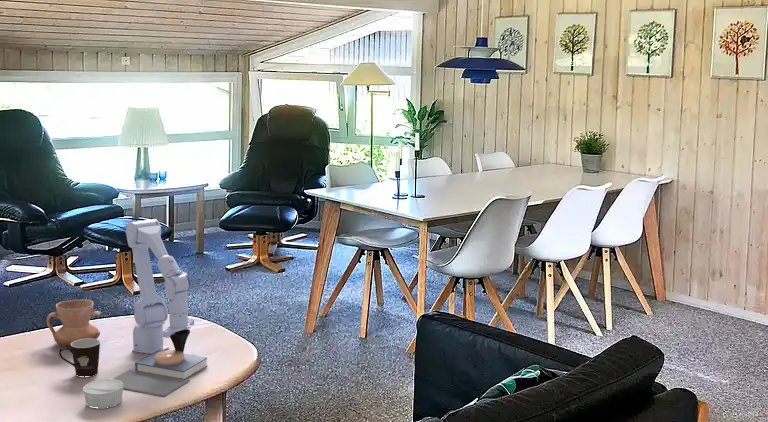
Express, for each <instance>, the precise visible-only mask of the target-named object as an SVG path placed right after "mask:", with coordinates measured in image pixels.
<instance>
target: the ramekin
mask: <svg viewBox="0 0 768 422" xmlns="http://www.w3.org/2000/svg"><path fill="white" fill-rule="evenodd" d="M123 388H124V384H123V382H122V381H120V380H116V379H113V378H101V379H97V380H92V381H90V382H87V383H86V384H85V385H83V387H82V393H83V396H84V400H85V403H87V404H88V405H89V406H92V407H98V408H107V407H112V406H115V405H117V404H118V405H119V404H121V402H122V400H123V393H124V389H123ZM87 404H86V405H87ZM88 405H87V406H88ZM118 405H117V406H118ZM89 406H88V407H89ZM115 407H116V406H115ZM112 408H113V407H112Z"/></svg>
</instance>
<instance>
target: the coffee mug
mask: <svg viewBox="0 0 768 422" xmlns="http://www.w3.org/2000/svg"><path fill="white" fill-rule="evenodd" d="M100 345H101V341H100V339H98V338H97V339H80V340H76V341H74V342H72V343H71V347H66V346H62V348H61V349H59V351H58V355H59V357H60V358H61V359H62V360H63V361H65V362H66V363H67V364H70V365H71V366H73V367H74V370H75V371H74V372H75V376H76V375H78V376H84V377H85V376H92V377H94V376H93V375H95V374H97V373H99V364H100V363H99V361H100V360H99V359H100V351H101V350H100V348H101V347H100ZM63 350H68V351H69V352H70V353H71V355H72V359H73V362H71V361H69V360H68V359H66V358H65V357H64V356H63V355H62V354H61V353H62V351H63ZM97 375H98V374H97ZM95 376H96V375H95Z"/></svg>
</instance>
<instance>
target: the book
mask: <svg viewBox="0 0 768 422" xmlns="http://www.w3.org/2000/svg"><path fill="white" fill-rule="evenodd" d="M162 351H166V350H158V351H156V352H154V353H152V354H148V355H146V356H145V357H143V358H141V359H139V360H137V361H135V362H134V370H135V371H141V372H147V373H152V374H158V375H163V376H169V377H175V378H180V379H186V380H188V379H189V378H191V377H192V376H194V375H196V374H198V373H199V372H200V371H202V370H204V369H206V368H207V367H208V361H207V360H208V357H206V356H200V355H194V354H188V353H184V362H183V363H181V364H178V365H174V366H160V365H157V364H155V354H157V353H159V352H162Z"/></svg>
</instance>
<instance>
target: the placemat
mask: <svg viewBox="0 0 768 422" xmlns="http://www.w3.org/2000/svg"><path fill="white" fill-rule="evenodd" d="M112 379H116V380H120V381H122V382H123V384H124V388H123V390H125V389H127V391H131V390H132V391H131V392H136V391H137V392H138V393H143V394H148V395H151V396H152V395H153V396H158V397H166V396H169V395H170V394H171V393H173V392H174V391H177V390H178V389H179V388H181V387H183V386H184V385H186V384H188V383H189V382H190V379H180V378H175V377H169V376H163V375H158V374H152V373H147V372H141V371H135V369H129V370H126V371H124V372H123V373H121V374H119V375H117V376H114V377H113V378H112Z"/></svg>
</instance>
